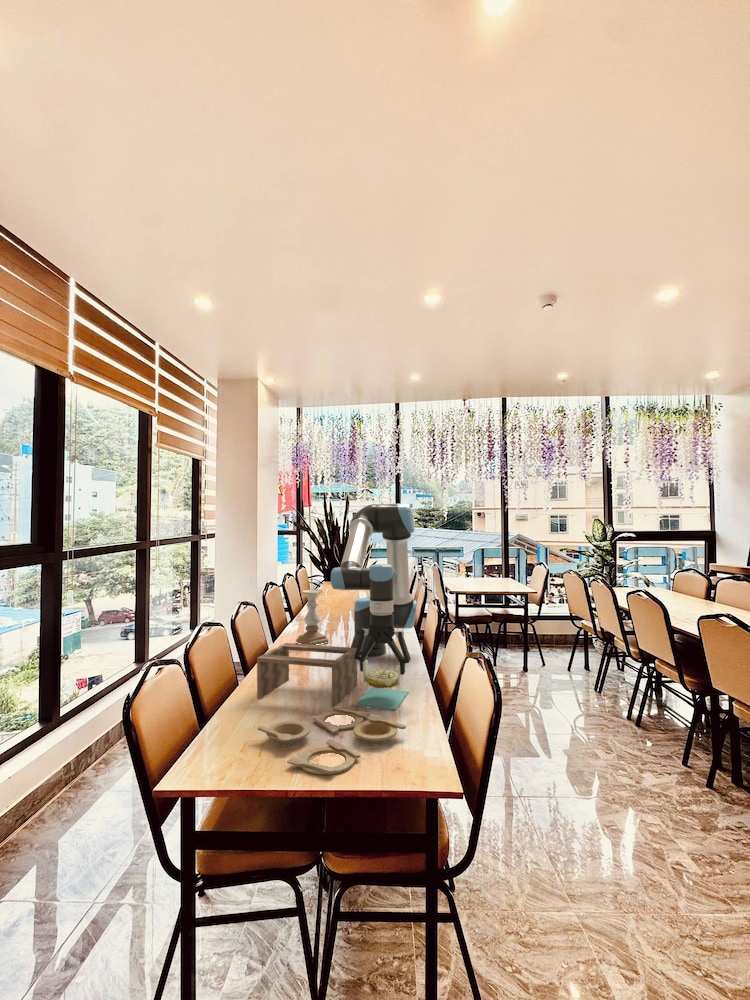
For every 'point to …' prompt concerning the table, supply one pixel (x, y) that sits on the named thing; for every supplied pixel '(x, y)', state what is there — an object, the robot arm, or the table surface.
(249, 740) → the table surface
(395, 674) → the decorated donut
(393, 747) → the table surface
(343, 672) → the box
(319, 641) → the candle holder
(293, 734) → the tableware set
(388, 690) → the mat
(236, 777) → the table surface
